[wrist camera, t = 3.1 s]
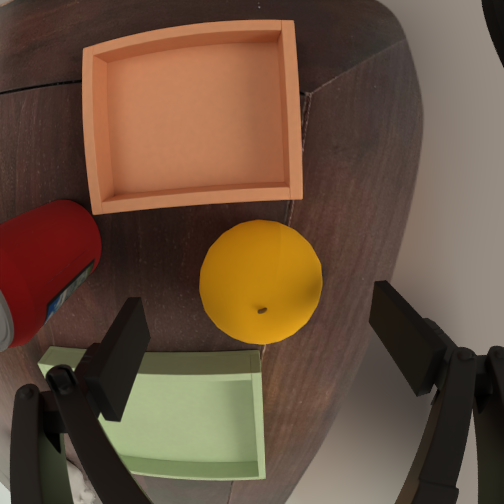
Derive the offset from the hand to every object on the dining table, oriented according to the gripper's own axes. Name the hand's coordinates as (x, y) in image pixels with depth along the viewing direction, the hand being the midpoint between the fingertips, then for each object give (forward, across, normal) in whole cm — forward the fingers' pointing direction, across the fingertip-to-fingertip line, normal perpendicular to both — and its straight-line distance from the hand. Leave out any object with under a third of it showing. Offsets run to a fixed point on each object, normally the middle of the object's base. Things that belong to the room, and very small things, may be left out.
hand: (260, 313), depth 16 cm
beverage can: (+7, -15, +3) cm, 17 cm away
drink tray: (+7, -4, +11) cm, 14 cm away
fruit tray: (+7, -11, -18) cm, 22 cm away
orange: (+7, 0, 0) cm, 7 cm away
